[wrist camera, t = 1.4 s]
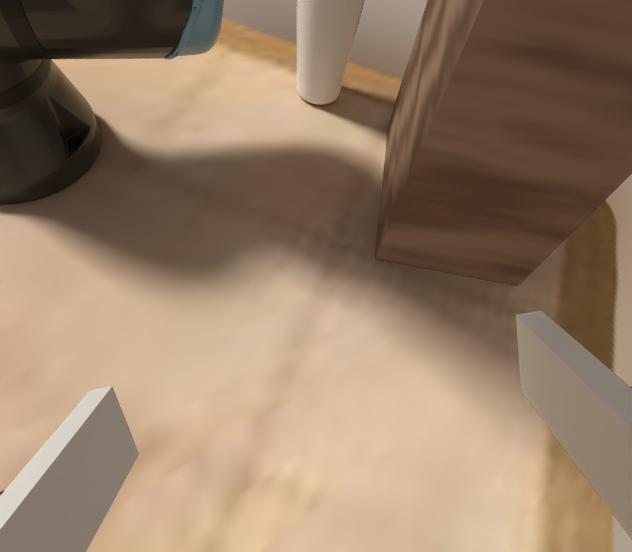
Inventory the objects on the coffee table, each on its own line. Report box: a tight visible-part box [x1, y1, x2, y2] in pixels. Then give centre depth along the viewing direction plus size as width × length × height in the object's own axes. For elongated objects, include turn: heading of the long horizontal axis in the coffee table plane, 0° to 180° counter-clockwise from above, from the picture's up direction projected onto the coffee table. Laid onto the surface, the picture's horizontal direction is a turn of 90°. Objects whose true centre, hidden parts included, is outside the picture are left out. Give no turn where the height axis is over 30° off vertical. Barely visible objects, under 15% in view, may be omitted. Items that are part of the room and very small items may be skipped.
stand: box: [375, 0, 632, 286], centre depth 37 cm, size 19×14×28 cm
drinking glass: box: [296, 0, 365, 105], centre depth 49 cm, size 7×7×15 cm
